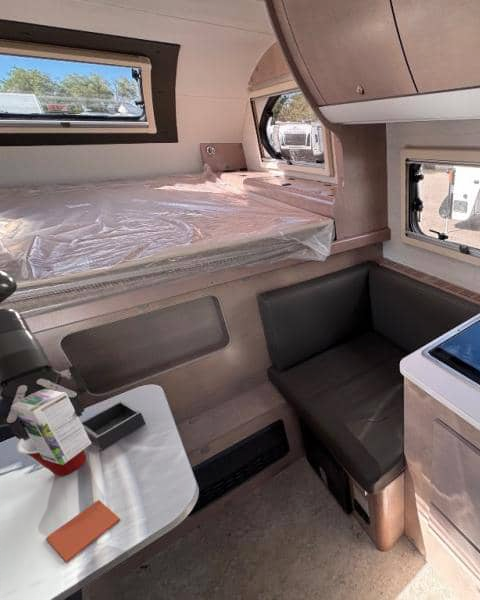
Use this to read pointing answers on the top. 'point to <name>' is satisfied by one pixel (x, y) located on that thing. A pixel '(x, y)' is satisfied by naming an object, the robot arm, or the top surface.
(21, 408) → the syrup box
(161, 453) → the top surface
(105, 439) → the caddy
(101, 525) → the mat
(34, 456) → the plastic cup
